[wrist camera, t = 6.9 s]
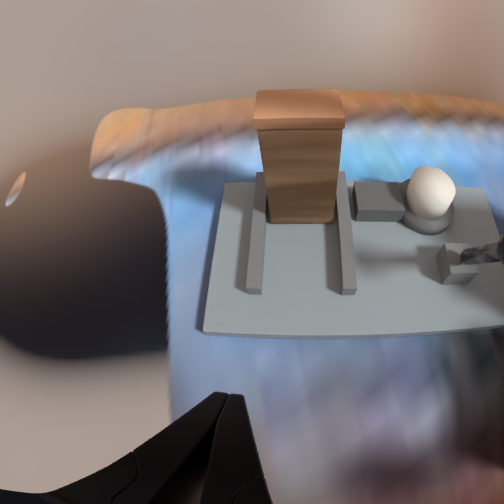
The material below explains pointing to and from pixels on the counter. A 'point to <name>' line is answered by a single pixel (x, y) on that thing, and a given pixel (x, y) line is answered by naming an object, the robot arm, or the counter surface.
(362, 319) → the control board
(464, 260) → the dark gray metallic lever
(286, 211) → the brown tall rectangular block
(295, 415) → the counter surface
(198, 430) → the robot arm
